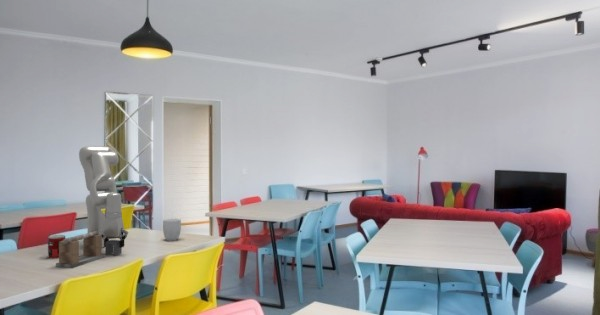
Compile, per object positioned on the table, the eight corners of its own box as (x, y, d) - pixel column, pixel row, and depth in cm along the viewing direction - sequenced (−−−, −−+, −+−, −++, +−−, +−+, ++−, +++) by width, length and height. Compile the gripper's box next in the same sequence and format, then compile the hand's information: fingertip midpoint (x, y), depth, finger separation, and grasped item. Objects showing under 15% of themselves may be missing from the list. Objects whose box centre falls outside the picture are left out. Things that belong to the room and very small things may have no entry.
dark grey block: (105, 254, 228) (105, 241, 228) (111, 252, 233) (111, 239, 233) (115, 255, 227) (115, 242, 227) (121, 253, 231) (121, 240, 231)
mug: (165, 237, 276) (165, 217, 276) (182, 236, 278) (182, 217, 278) (161, 241, 262) (161, 221, 262) (179, 241, 263) (179, 220, 263)
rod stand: (55, 266, 204) (55, 238, 204) (88, 255, 226) (88, 230, 225) (72, 268, 202) (72, 239, 202) (104, 257, 223) (104, 231, 223)
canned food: (49, 255, 225) (49, 235, 225) (66, 254, 228) (66, 234, 228) (46, 259, 218) (47, 238, 218) (64, 257, 221) (64, 236, 221)
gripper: (95, 216, 228) (95, 247, 228) (123, 216, 224) (123, 248, 223) (105, 214, 235) (105, 245, 235) (131, 215, 231) (132, 246, 231)
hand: (114, 246), depth 229 cm, fingers open, 9 cm apart
